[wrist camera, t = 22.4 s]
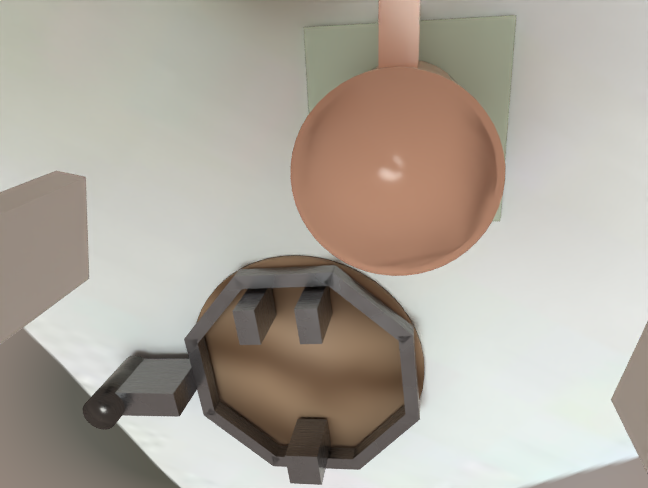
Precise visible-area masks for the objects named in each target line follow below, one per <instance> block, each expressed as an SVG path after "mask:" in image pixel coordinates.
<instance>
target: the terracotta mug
mask: <svg viewBox="0 0 648 488" xmlns="http://www.w3.org/2000/svg"><path fill="white" fill-rule="evenodd" d="M420 8H421V0H379V33H378V66H377V67H375V68H373V69H371V70H370V71H367V72H364V73H362V74H359V75H356V76H354V77H352V78H350V79H349V80H347V81H345V82H343V83H341V84H340V85H339V86H337V87H336V88H334V89H333V90H332V91H330V92H329V93H328V94H327V95H326V96H325V97H323V98H322V99H321V100H320V101H319V102H318V103H317V104H316V106H315V107H314V108H313V110H312V111H311V112H310V113H309V115H308V116H307V118H306V120H305V121H304V123H303V125H302V126H301V129H300V131H299V133H298V136H297V138H296V141H295V145H294V149H293V152H292V159H291V185H292V192H293V196H294V200H295V204H296V206H297V209H298V211H299V214H300V216H301V218H302V220H303V222H304V223H305V225H306V227H307V228H308V230H309V231H310V232H311V234H312V235H313V236H314V238H315V239H316V240H317V241H318V242H319V243H320V244H321V245H322V246H323V247H324V248H325V249H326V250H328V251H329V252H330V253H331V254H332V255H334V256H335V257H337V258H338V259H340V260H342V261H343V262H345V263H347V264H349V265H351V266H353V267H356V268H358V269H361V270H364V271H367V272H371V273H376V274H381V275H391V276H400V275H412V274H419V273H423V272H427V271H431V270H434V269H436V268H439V267H441V266H444V265H446V264H448V263H449V262H451V261H453V260H455V259H457V258H458V257H459V256H461V255H462V254H464V253H465V252H466V251H468V250H469V249H470V248H471V247H472V246H473V245H474V244H475V243H476V242H477V241H478V240H479V239H480V238H481V236H482V235H483V234H484V233H485V232H486V230H487V228H488V227H489V225H490V224H491V222H492V221H493V219H494V216H495V214H496V212H497V210H498V208H499V205H500V201H501V198H502V195H503V190H504V184H505V160H504V152H503V148H502V144H501V140H500V137H499V135H498V133H497V130H496V128H495V126H494V124H493V122H492V121H491V119H490V117H489V116H488V114H487V112H486V111H485V110H484V108H483V107H482V106H481V105H480V104H479V102H478V101H477V100H476V99H475V98H474V97H473V96H472V95H471V94H470V93H469V92H468V91H467V90H465V89H464V88H463V87H461V86H460V85H458V83H457V82H456V81H455V80H454V79H453V78H452V77H451V76H450V75H449V74H448V73H447V72H445V71H444V70H442V69H441V68H439V67H437V66H435V65H433V64H431V63H428V62H425V61H421V60H419V41H420Z"/></svg>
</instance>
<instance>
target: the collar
mask: <svg viewBox="0 0 648 488" xmlns="http://www.w3.org/2000/svg"><path fill="white" fill-rule="evenodd" d="M286 287H305V288H304V290H303V292H302V294H301V296H300V298H299V300H298V302H297V304H296V306H295V308H294V312H295V318H296V324H297V330H298V336H299V342H300V344H322V343H323V340H324V338H325V335H326V332H327V329H328V326H329V323H330V320H331V317H332V314H333V313H332V306H331V298H330V291H329V287H330V288H332V289H333V290H334V291H335V292H337V293H338V294H339V295H341V296H342V297H343V298H344V299H346V300H347V301H348V302H350V303H351V304H352V305H353V306H355V307H356V308H357V309H358V310H360V311H361V312H362V313H364V314H365V315H366V316H367V317H369V318H370V319H371V320H373V321H374V322H375V323H376V324H378V325H379V326H380V327H382V328H383V329H384V330H385V331H387V332H388V333H389V334H390V335H392V336H393V337H394V338H396V339H397V340H398V341H399V350H400V361H401V372H402V383H403V393H404V404H405V405H404V406H403V407H402V408H401V409H400V410H398V411H397V412H396V413H395V414H394V415H393V416H391V417H390V418H389V419H388V420H387V421H386V422H385V423H383V424H382V425H381V426H380V427H379V428H378V429H376V430H375V431H374V432H373V433H372V434H371V435H369V436H368V437H367V438H366V439H365V440H364V441H363V442H361V443H360V444H359V445H358V446H357V447H356V448H332V447H331V442H330V436H329V429H328V423H327V419H297V422H296V425H295V428H294V431H293V434H292V437H291V440H290V442H289V445H288V446H280V445H278V444H277V443H276V442H274V441H273V440H272V439H270V438H269V437H267V436H266V435H265V434H263V433H262V432H261V431H259V430H258V429H257V428H255V427H254V426H253V425H251V424H250V423H248V422H247V421H246V420H244V419H243V418H242V417H240V416H239V415H238V414H236V413H235V412H234V411H232V410H231V409H230V408H228V407H227V406H225V405H224V404H223V403H221V402H220V399H219V395H218V391H217V387H216V383H215V379H214V375H213V371H212V366H211V362H210V358H209V354H208V350H207V346H206V342H205V338H204V335H205V334H206V333H207V331H208V330H209V329H210V328H211V327H212V325H213V324H214V323H215V322H216V320H217V319H218V318H219V317H220V315H221V314H222V313H223V312H224V311H225V309H226V308H227V307H228V306H229V304H230V303H231V302H232V301H233V299H234V298H235V297H236V296H237V295H238V293H239V292H240V291H241V290H242V289H247V291H246V292H245V294H244V295H243V296H242V298H241V299H240V301H239V302H238V304H237V305H236V306H235V308H234V309H233V311H232V312H233V316H234V321H235V326H236V330H237V335H238V340H239V344H240V345H261V344H262V342H263V340H264V338H265V336H266V334H267V332H268V331H269V329H270V327H271V325H272V323H273V321H274V319H275V317H276V316H277V314H276V308H275V303H274V297H273V292H272V288H286ZM184 340H185V344H186V348H187V352H188V356H189V359H144V358H142V357H139V356H130V357H128V358H127V359H126V360H125V361H124V362H123V363H122V364H121V365H120V366H119V367H118V369H117V370H116V371H115V372H114V373H113V374H112V375H111V376H110V377H109V378H108V379H107V380H106V382H105V383H104V384H103V385H102V386H101V387H100V388H99V389H98V390H97V391H96V392H95V393H94V395H93V396H92V397H91V398H90V399H89V400H88V401H87V402H86V403H85V405H84V406H83V414H84V416H85V418H86V420H87V421H88V422H89V423H90V424H91V425H93V426H94V427H96V428H99V429H110V428H112V427H113V426H114V425H115V424H116V422H117V421H118V420H119V419H120V417H121V416H122V415H133V416H180V415H181V413H182V412H183V410H184V409H185V407H186V405H187V404H188V402H189V401H190V399H191V398H192V396H193V395H194V393H195V392H196V390H198V394H199V398H200V402H201V406H202V410H203V414H204V416H206V417H207V418H208V419H210V420H211V421H212V422H214V423H215V424H217V425H218V426H219V427H221V428H222V429H223V430H225V431H226V432H227V433H229V434H230V435H232V436H233V437H234V438H236V439H237V440H238V441H240V442H241V443H243V444H244V445H245V446H247V447H248V448H249V449H251V450H252V451H253V452H255V453H256V454H258V455H259V456H260V457H262V458H263V459H264V460H266V461H267V462H268V463H270V464H271V465H273V466H283V467H287V468H288V474H289V479H290V483H297V484H318V485H322V482H323V477H324V473H325V469H326V468H332V469H357V470H359V469H361V468H362V467H363V466H364V465H366V464H367V463H368V462H369V461H370V460H372V459H373V458H374V457H375V456H376V455H378V454H379V453H380V452H381V451H382V450H384V449H385V448H386V447H387V446H388V445H390V444H391V443H392V442H393V441H394V440H396V439H397V438H398V437H399V436H400V435H402V434H403V433H404V432H405V431H406V430H408V429H409V428H410V427H411V426H412V425H414V424H415V423H416V422H417V421H418V420H420V402H419V390H418V377H417V365H416V352H415V340H414V327H413V326H412V325H411V324H410V323H408V322H407V321H406V320H405V319H403V318H402V317H401V316H400V315H398V314H397V313H396V312H394V311H393V310H392V309H391V308H389V307H388V306H387V305H386V304H384V303H383V302H382V301H381V300H379V299H378V298H377V297H375V296H374V295H373V294H372V293H370V292H369V291H368V290H367V289H365V288H364V287H363V286H362V285H360V284H359V283H358V282H356V281H355V280H354V279H353V278H351V277H350V276H349V275H348V274H346V273H345V272H344V271H342V270H341V269H340V268H339V267H337V266H336V265H323V266H301V267H280V268H258V269H240V270H238V272H237V273H236V274H235V275H234V277H233V278H232V279H231V280H230V282H229V283H228V284H227V286H226V287H225V288H224V289H223V291H222V292H221V293H220V294H219V296H218V297H217V298H216V299H215V301H214V302H213V303H212V305H211V306H210V307H209V308H208V310H207V311H206V312H205V313H204V315H203V316H202V317H201V318H200V320H199V321H198V322H197V323H196V325H195V326H194V327H193V329H192V330H191V331H190V332H189V334H188V335H187V336H186V337H185V339H184Z"/></svg>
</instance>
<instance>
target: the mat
mask: <svg viewBox="0 0 648 488" xmlns="http://www.w3.org/2000/svg"><path fill="white" fill-rule="evenodd" d="M515 26H516V15H509V16H492V17H474V18H457V19H439V20H422V21H420V41H419V60H421V61H425V62H428V63H431V64H433V65H435V66H437V67H439V68H441V69H442V70H444V71H445V72H447V73H448V74H449V75H450V76H451V77H452V78H453V79H454V80H455V81H456V82H457V83H458V85H460V86H461V87H463V88H464V89H465V90H467V91H468V92H469V93H470V94H471V95H472V96H473V97H474V98H475V99H476V100H477V101H478V102H479V104H480V105H481V106H482V107H483V108H484V110H485V111H486V112H487V114H488V116H489V117H490V119H491V121H492V122H493V124H494V126H495V128H496V130H497V133H498V135H499V137H500V140H501V144H502V148H503V152H504V160H505V154H506V141H507V128H508V115H509V103H510V90H511V77H512V64H513V51H514V39H515ZM378 33H379V23H369V24H351V25H334V26H316V27H304V43H305V60H306V77H307V94H308V111H309V113H310V112H311V111H312V110H313V108H314V107H315V106H316V104H317V103H318V102H319V101H320V100H321V99H322V98H323V97H325V96H326V95H327V94H328V93H329V92H330V91H332V90H333V89H334V88H336V87H337V86H339V85H340V84H341V83H343V82H345V81H347V80H349V79H350V78H352V77H354V76H356V75H359V74H362V73H364V72H367V71H370V70H371V69H373V68H375V67H377V66H378ZM501 205H502V198H501V201H500V205H499V208H498V210H497V212H496V214H495V216H494V219H493V221H500V218H501Z"/></svg>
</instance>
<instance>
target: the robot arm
mask: <svg viewBox="0 0 648 488" xmlns="http://www.w3.org/2000/svg"><path fill="white" fill-rule="evenodd" d="M88 279H89V258H88V230H87V201H86V177H84V176H79V175H74V174H69V173H65V172H60V171H54V172H52V173H49V174H46V175H44V176H41V177H39V178H36V179H33V180H31V181H28V182H26V183H23V184H20V185H18V186H15V187H13V188H10V189H7V190H5V191H2V192H0V344H2V343H3V342H4V341H6V340H7V339H8V338H10V337H11V336H12V335H14V334H15V333H16V332H18V331H19V330H20V329H22V328H23V327H24V326H26V325H27V324H28V323H30V322H31V321H33V320H34V319H35V318H37V317H38V316H39V315H41V314H42V313H43V312H45V311H46V310H47V309H49V308H50V307H51V306H53V305H54V304H55V303H57V302H58V301H60V300H61V299H62V298H64V297H65V296H66V295H68V294H69V293H70V292H72V291H73V290H74V289H76V288H77V287H78V286H80V285H81V284H82V283H84V282H85V281H86V280H88ZM611 401H612V403H613V405H614V407H615V409H616V411H617V413H618V415H619V417H620V419H621V421H622V423H623V425H624V427H625V429H626V431H627V433H628V435H629V437H630V439H631V441H632V443H633V445H634V447H635V449H636V451H637V453H638V455H639V458H640V460H641V462H642V464H643V466H644V467H645V470H646V472H647V474H648V322H647V324H646V326H645V328H644V330H643V333H642V335H641V337H640V339H639V341H638V343H637V345H636V347H635V350H634V352H633V354H632V356H631V358H630V360H629V362H628V365H627V367H626V369H625V371H624V373H623V375H622V377H621V379H620V382H619V384H618V386H617V388H616V390H615V392H614V394H613V396H612V399H611Z"/></svg>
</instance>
